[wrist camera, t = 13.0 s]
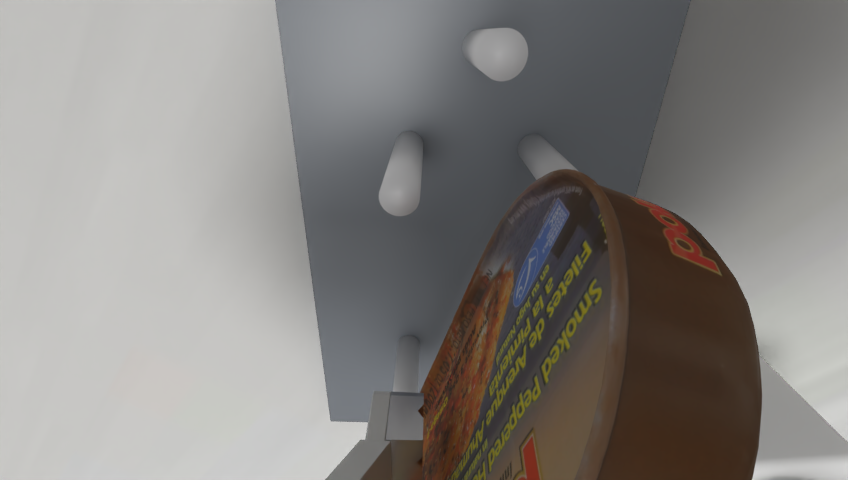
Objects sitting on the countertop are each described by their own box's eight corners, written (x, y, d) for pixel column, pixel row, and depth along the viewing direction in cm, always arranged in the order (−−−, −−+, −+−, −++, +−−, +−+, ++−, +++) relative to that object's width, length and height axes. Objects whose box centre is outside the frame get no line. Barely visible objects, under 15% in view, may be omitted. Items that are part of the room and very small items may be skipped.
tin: (537, 131, 11) (681, 309, 3) (645, 170, 11) (1031, 434, 3) (385, 464, 17) (313, 784, 10) (453, 487, 17) (435, 822, 10)
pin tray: (676, -29, 15) (869, -77, 8) (562, 407, 26) (607, 534, 20) (283, -37, 15) (169, -91, 9) (335, 401, 26) (303, 526, 20)
